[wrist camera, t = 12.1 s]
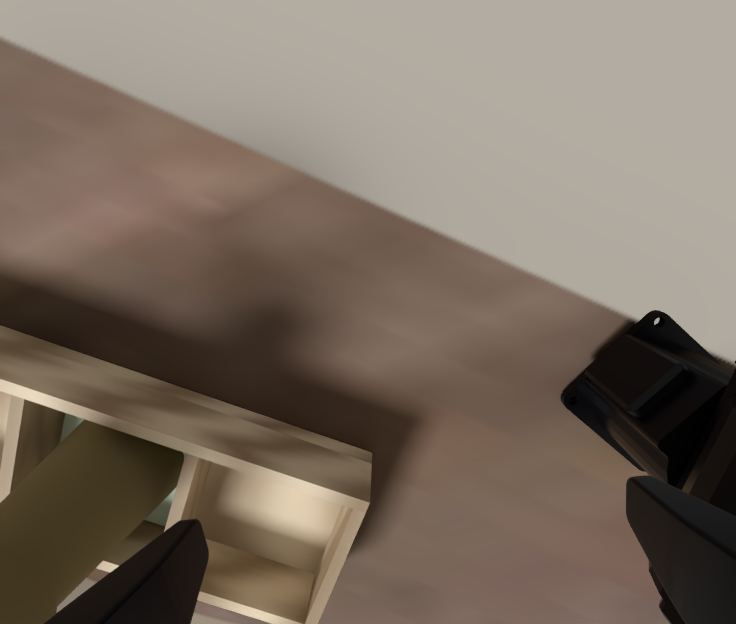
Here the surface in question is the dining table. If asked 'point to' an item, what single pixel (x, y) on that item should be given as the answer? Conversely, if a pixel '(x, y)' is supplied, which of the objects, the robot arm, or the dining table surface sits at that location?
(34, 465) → the wooden compartment tray
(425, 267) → the dining table surface
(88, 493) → the cork
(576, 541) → the dining table surface
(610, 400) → the robot arm
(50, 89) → the dining table surface
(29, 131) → the dining table surface
